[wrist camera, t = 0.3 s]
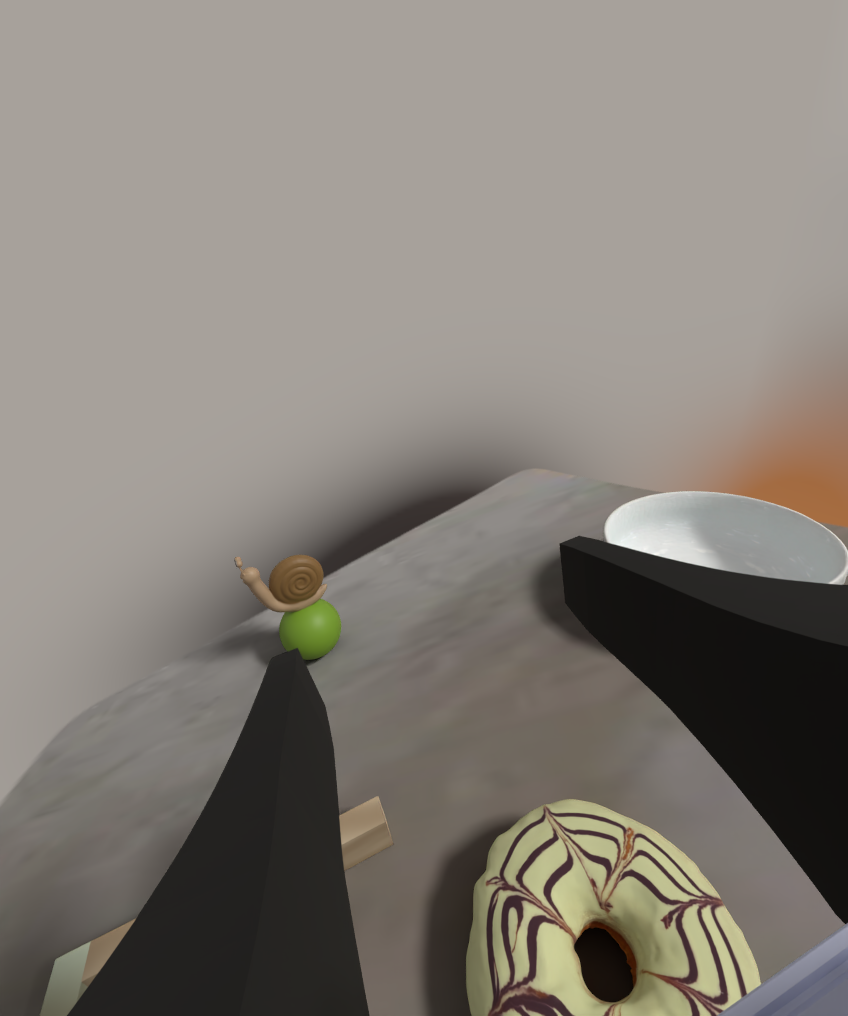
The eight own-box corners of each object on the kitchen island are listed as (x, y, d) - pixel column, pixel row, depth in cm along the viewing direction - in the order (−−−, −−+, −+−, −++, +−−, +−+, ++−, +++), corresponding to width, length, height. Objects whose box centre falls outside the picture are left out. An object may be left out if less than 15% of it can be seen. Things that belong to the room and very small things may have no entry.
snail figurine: (273, 650, 40) (228, 546, 35) (335, 620, 43) (303, 518, 37) (286, 689, 36) (238, 577, 31) (355, 653, 39) (322, 543, 33)
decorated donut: (428, 1051, 18) (413, 1020, 16) (524, 794, 26) (522, 754, 25) (761, 1375, 12) (799, 1387, 10) (750, 910, 20) (770, 869, 18)
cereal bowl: (747, 541, 45) (763, 481, 41) (883, 668, 30) (923, 590, 27) (581, 552, 47) (583, 496, 44) (632, 674, 33) (641, 604, 29)
